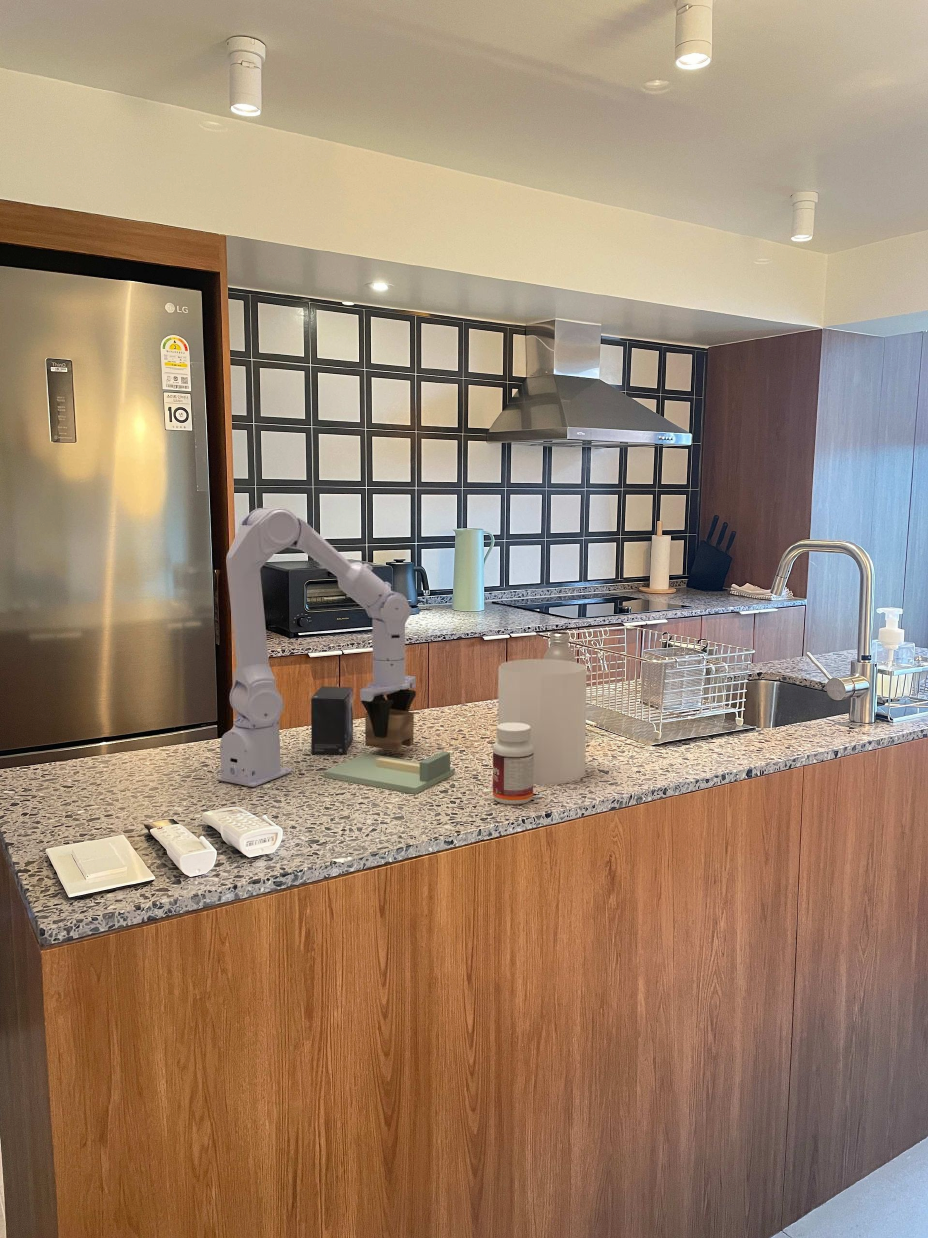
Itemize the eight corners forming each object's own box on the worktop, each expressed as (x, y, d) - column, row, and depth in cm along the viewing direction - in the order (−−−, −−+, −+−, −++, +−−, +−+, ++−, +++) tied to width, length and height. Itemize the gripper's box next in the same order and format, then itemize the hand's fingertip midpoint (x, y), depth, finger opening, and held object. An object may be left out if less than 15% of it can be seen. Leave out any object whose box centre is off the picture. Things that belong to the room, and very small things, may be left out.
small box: (346, 755, 158) (345, 697, 156) (310, 755, 158) (308, 697, 156) (355, 739, 168) (354, 685, 167) (321, 739, 168) (319, 685, 167)
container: (489, 763, 153) (489, 661, 151) (566, 757, 156) (568, 657, 154) (514, 788, 139) (514, 676, 137) (598, 781, 143) (600, 672, 140)
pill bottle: (490, 793, 137) (490, 721, 135) (529, 791, 137) (530, 720, 136) (495, 806, 130) (495, 732, 129) (536, 805, 131) (537, 730, 130)
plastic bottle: (538, 737, 169) (539, 634, 166) (545, 729, 175) (546, 629, 173) (571, 740, 167) (573, 636, 164) (577, 731, 173) (579, 631, 171)
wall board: (415, 794, 136) (415, 769, 135) (323, 777, 145) (322, 753, 144) (454, 773, 146) (454, 750, 146) (366, 758, 155) (365, 736, 155)
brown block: (397, 751, 154) (398, 717, 153) (365, 745, 157) (365, 712, 156) (413, 745, 158) (413, 712, 157) (381, 739, 162) (381, 707, 161)
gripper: (384, 666, 147) (384, 745, 149) (429, 654, 160) (429, 727, 162) (350, 662, 151) (351, 740, 153) (397, 651, 163) (397, 722, 165)
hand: (389, 733), depth 157 cm, fingers closed on brown block, 5 cm apart
